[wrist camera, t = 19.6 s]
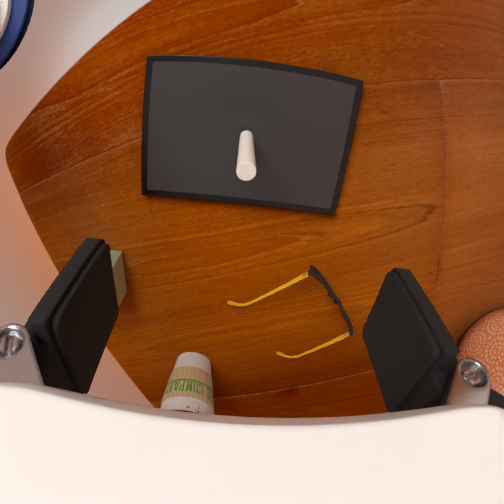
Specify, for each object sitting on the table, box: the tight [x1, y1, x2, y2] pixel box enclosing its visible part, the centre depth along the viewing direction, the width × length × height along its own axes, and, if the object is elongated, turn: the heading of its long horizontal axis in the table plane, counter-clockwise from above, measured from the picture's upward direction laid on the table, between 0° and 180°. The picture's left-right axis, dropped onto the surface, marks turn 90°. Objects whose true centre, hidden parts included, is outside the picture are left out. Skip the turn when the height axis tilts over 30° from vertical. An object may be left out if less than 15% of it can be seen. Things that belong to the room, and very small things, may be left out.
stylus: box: [236, 130, 256, 181], centre depth 28 cm, size 1×1×14 cm
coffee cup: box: [160, 352, 214, 415], centre depth 48 cm, size 10×10×15 cm
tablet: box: [141, 55, 363, 215], centre depth 34 cm, size 17×24×1 cm
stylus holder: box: [110, 250, 127, 307], centre depth 42 cm, size 7×7×4 cm
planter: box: [456, 309, 504, 396], centre depth 46 cm, size 21×21×19 cm
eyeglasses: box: [227, 265, 353, 358], centre depth 46 cm, size 14×14×4 cm
